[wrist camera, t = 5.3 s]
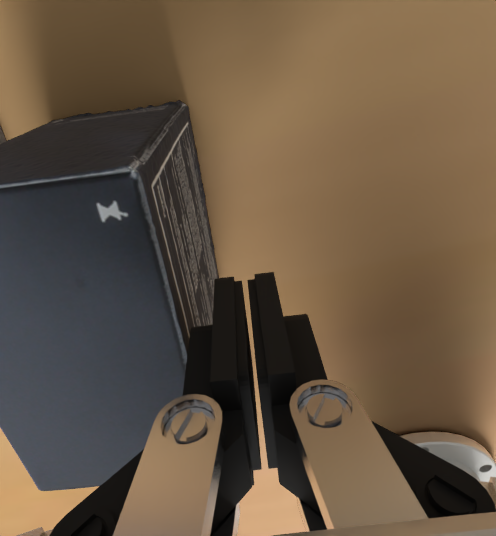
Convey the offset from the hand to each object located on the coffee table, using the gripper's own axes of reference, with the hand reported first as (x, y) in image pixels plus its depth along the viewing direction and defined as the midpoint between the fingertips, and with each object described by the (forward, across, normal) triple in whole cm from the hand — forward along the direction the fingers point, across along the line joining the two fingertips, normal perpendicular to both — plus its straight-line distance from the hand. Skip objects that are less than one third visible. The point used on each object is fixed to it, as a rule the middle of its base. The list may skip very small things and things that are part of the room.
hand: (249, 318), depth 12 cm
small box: (+10, +5, 0) cm, 11 cm away
